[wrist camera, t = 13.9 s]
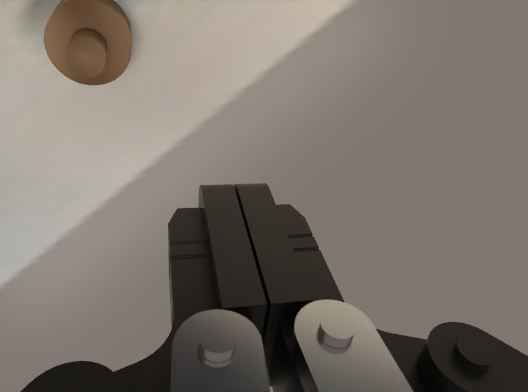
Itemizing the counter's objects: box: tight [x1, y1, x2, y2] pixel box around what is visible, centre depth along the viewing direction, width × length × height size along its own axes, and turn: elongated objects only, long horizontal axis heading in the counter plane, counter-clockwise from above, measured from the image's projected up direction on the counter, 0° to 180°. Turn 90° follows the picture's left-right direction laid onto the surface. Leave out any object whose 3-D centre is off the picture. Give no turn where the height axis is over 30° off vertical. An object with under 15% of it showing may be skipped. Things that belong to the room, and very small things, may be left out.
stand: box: [44, 0, 131, 85], centre depth 31 cm, size 6×6×7 cm
